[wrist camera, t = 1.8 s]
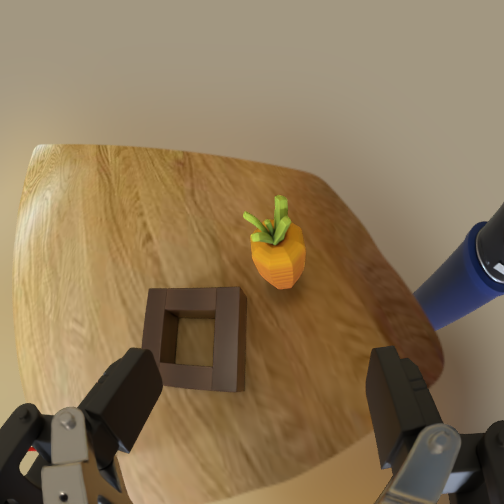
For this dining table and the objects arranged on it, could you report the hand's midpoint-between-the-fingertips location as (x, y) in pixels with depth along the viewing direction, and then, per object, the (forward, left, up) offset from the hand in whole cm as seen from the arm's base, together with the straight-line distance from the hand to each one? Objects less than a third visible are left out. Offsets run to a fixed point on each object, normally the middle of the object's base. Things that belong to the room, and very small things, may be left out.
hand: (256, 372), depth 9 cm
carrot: (0, -11, -21) cm, 24 cm away
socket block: (+10, -4, -21) cm, 24 cm away
